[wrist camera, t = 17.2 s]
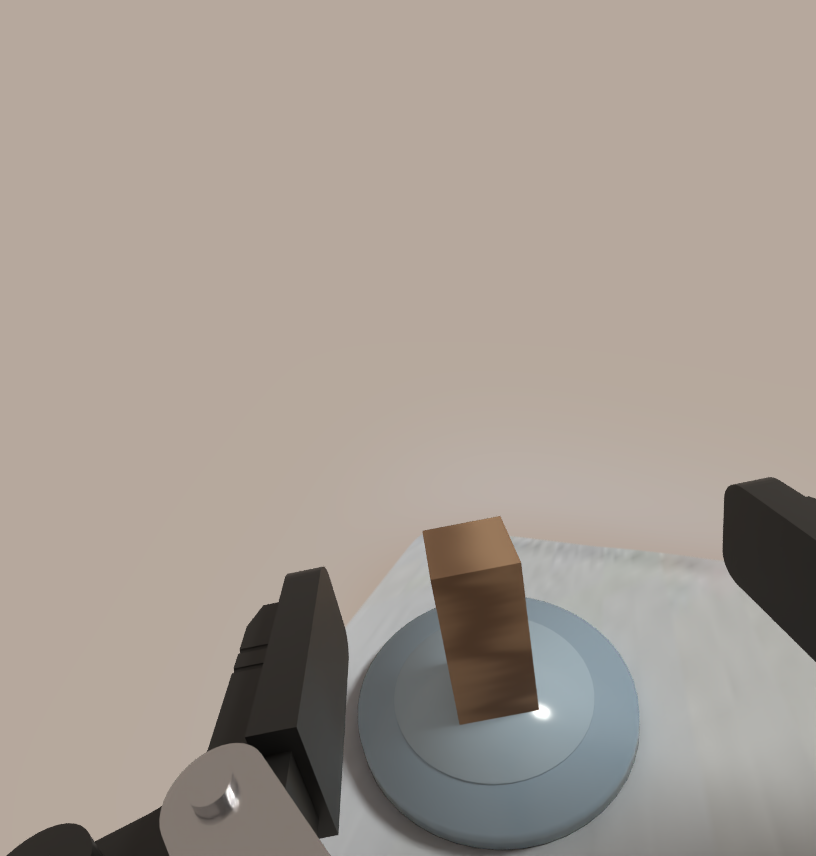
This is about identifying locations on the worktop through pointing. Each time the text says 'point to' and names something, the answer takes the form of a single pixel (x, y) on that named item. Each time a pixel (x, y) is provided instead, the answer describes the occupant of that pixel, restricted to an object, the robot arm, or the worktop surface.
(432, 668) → the slate plate
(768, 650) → the worktop surface
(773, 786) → the worktop surface
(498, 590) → the walnut block
